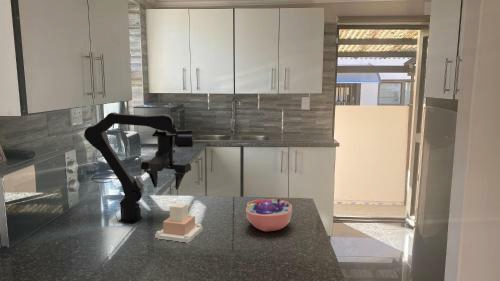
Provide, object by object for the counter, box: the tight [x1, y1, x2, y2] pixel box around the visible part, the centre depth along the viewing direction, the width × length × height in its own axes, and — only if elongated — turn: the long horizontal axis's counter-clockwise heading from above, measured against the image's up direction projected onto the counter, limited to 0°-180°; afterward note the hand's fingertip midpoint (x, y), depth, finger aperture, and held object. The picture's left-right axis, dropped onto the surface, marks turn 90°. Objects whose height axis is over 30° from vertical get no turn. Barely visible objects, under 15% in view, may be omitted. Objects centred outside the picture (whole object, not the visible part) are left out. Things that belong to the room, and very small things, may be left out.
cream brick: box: [169, 202, 189, 222], centre depth 127 cm, size 4×4×5 cm
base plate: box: [154, 215, 204, 244], centre depth 127 cm, size 12×12×6 cm
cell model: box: [245, 198, 293, 232], centre depth 134 cm, size 17×20×11 cm
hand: (166, 188), depth 141 cm, fingers open, 9 cm apart
